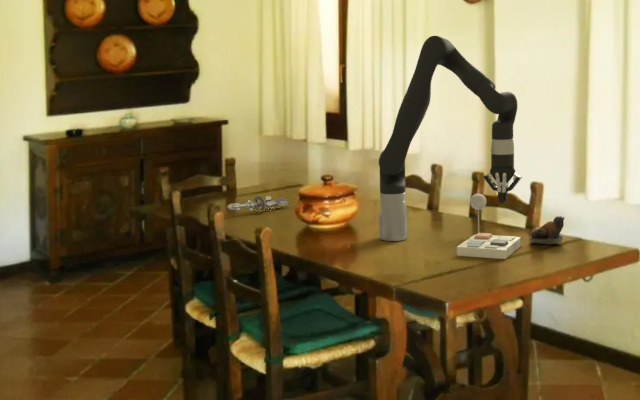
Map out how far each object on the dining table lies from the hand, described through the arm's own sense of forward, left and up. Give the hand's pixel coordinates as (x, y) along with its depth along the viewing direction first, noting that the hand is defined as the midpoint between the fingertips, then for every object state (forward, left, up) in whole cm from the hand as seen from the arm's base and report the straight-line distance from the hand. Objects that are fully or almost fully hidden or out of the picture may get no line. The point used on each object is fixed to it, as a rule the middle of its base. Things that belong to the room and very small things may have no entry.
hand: (502, 202), depth 304 cm
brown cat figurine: (+13, +9, -16) cm, 22 cm away
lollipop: (-14, +17, -16) cm, 27 cm away
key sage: (+1, 0, -15) cm, 15 cm away
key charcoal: (+1, -8, -14) cm, 16 cm away
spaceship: (-116, +31, -16) cm, 121 cm away
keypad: (-3, -6, -15) cm, 17 cm away
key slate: (-7, -8, -15) cm, 18 cm away
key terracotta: (-7, 0, -14) cm, 16 cm away
